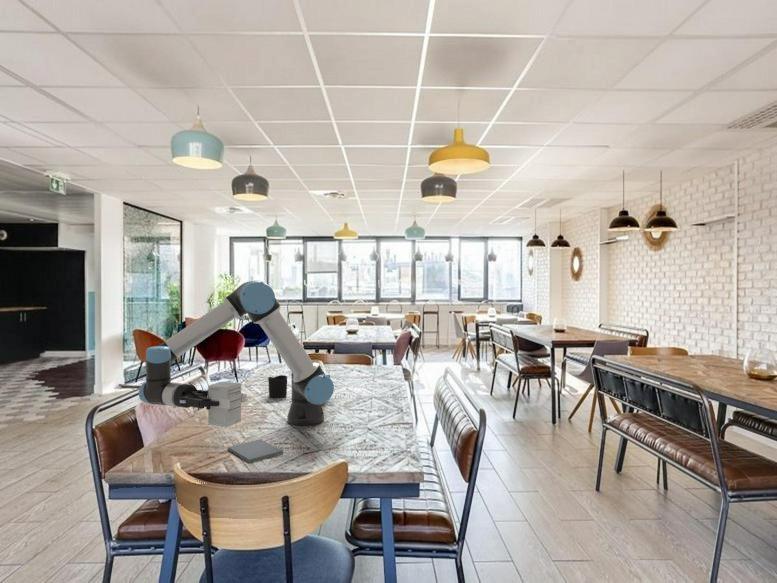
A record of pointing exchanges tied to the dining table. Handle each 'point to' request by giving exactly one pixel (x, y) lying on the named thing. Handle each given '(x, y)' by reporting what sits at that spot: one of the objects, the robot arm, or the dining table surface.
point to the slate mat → (255, 450)
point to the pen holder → (277, 386)
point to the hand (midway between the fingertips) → (237, 401)
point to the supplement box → (221, 414)
